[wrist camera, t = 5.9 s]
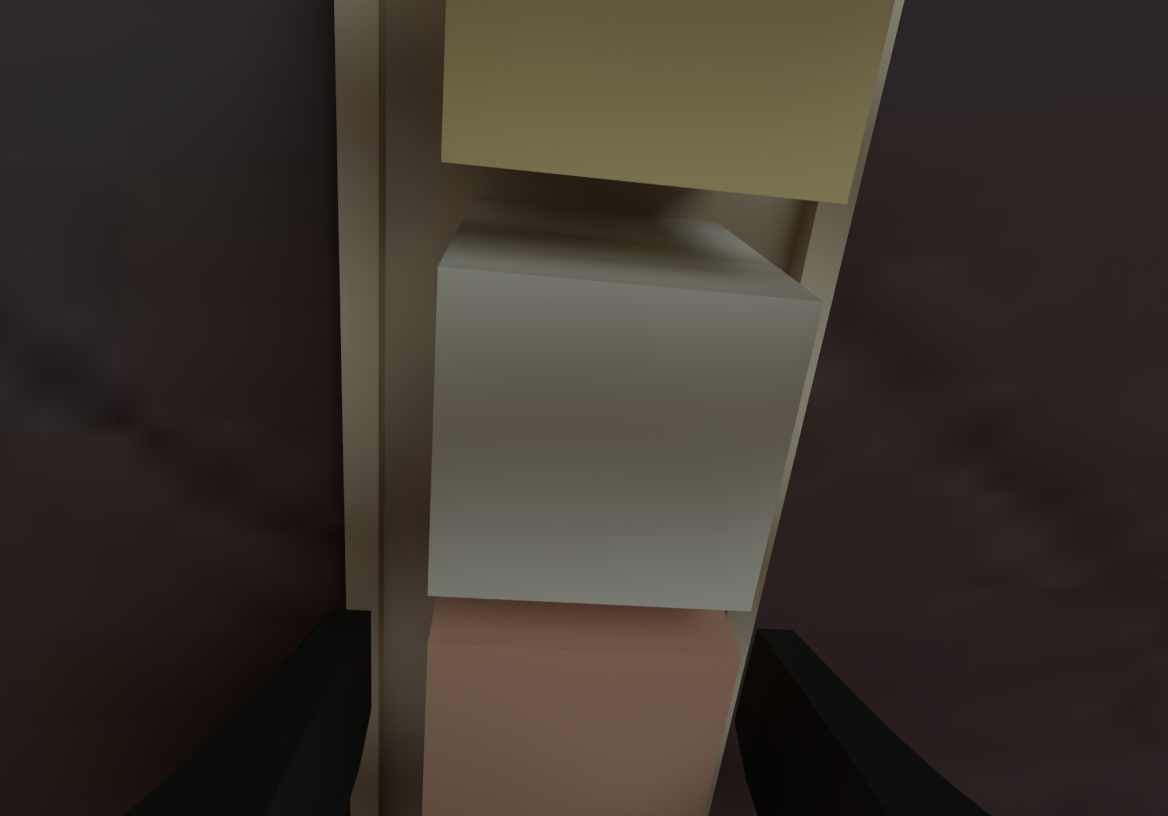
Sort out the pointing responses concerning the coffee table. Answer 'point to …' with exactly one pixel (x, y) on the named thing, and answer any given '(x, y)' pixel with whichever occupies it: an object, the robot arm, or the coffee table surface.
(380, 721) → the rack
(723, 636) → the terracotta block
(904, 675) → the coffee table surface
